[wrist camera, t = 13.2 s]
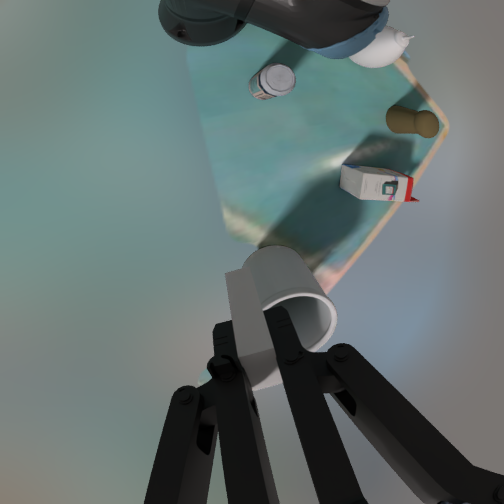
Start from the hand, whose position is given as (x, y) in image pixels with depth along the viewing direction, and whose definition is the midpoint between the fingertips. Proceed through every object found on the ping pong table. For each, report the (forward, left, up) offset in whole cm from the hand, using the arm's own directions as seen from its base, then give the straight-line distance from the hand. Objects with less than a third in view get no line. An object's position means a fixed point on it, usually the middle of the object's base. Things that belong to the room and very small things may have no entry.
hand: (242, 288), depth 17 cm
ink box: (+6, +22, -30) cm, 38 cm away
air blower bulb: (-18, +30, -35) cm, 49 cm away
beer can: (-13, +11, -35) cm, 39 cm away
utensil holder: (+23, +5, -35) cm, 42 cm away
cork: (-4, +38, -35) cm, 51 cm away
